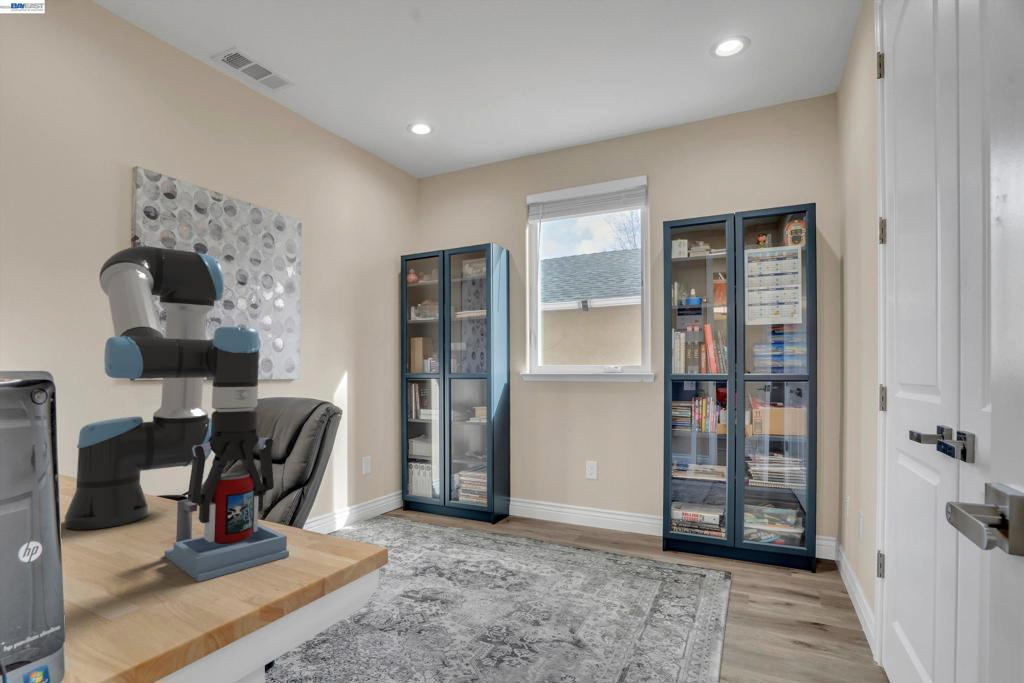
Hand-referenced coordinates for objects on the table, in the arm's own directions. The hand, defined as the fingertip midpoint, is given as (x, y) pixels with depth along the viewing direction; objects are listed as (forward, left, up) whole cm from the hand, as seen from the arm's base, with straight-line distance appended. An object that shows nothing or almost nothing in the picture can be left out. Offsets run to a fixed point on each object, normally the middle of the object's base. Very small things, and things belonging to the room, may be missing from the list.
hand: (231, 534), depth 93 cm
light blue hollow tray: (-2, 0, -4) cm, 5 cm away
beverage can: (0, 0, -1) cm, 1 cm away
